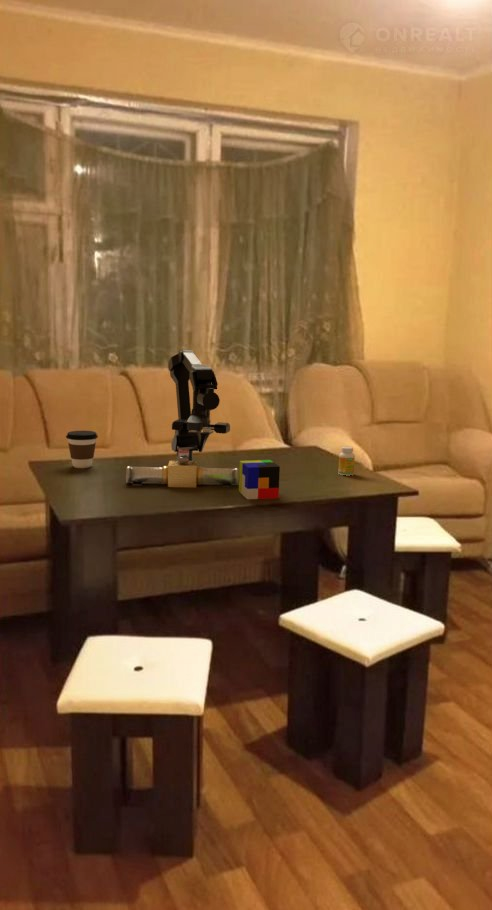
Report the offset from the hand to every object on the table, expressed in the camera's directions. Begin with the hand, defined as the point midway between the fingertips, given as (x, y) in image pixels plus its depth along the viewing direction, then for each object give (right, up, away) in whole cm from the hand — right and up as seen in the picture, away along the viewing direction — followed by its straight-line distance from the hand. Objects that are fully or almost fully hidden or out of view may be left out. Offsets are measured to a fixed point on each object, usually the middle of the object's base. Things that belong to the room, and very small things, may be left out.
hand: (200, 451), depth 265 cm
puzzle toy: (+19, -14, -17) cm, 29 cm away
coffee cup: (-43, -5, +16) cm, 46 cm away
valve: (-6, -11, -7) cm, 14 cm away
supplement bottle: (+50, -8, +15) cm, 53 cm away
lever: (-6, -2, -2) cm, 6 cm away
